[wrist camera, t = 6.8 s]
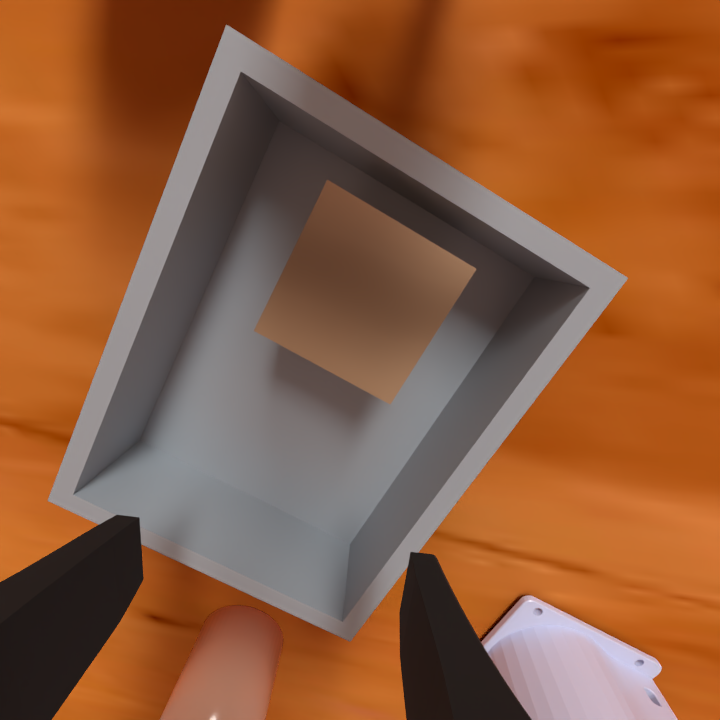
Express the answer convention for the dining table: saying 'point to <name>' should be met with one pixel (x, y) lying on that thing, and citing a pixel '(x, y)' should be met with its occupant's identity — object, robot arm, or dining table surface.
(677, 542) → the dining table surface
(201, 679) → the peach capsule
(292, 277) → the walnut cube
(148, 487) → the tote
